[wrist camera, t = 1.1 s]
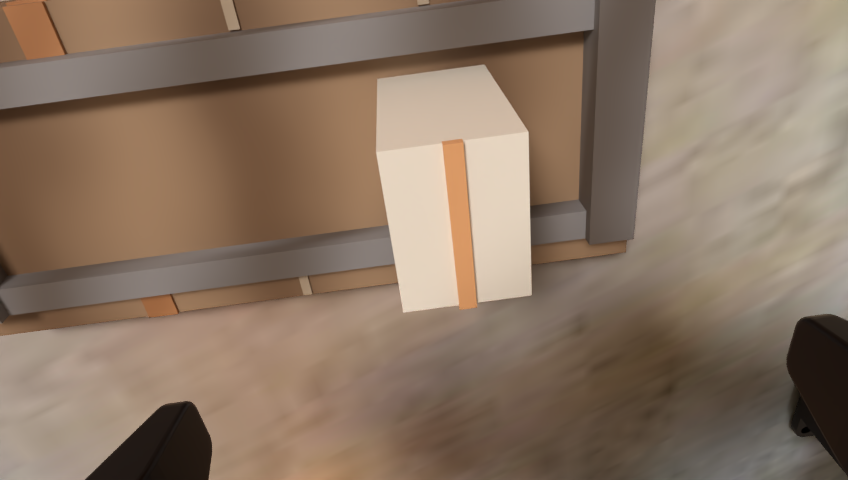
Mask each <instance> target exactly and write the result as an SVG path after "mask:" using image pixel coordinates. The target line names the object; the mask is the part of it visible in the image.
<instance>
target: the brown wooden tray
mask: <svg viewBox="0 0 848 480" xmlns="http://www.w3.org/2000/svg"><path fill="white" fill-rule="evenodd" d="M655 3H656V0H10V1H2V2H0V336H3V335H10V334H18V333H25V332H33V331H40V330H48V329H55V328H63V327H70V326H78V325H85V324H93V323H100V322H108V321H115V320H122V319H130V318H137V317H145V316H149V318H150V317H158V316H165V315H173V314H178V313H179V312H182V311H190V310H197V309H205V308H212V307H220V306H227V305H235V304H242V303H249V302H257V301H264V300H272V299H279V298H287V297H294V296H302V295H310V294H317V293H324V292H332V291H339V290H347V289H354V288H362V287H369V286H377V285H384V284H391V283H398V278H397V272H396V266H395V260H394V254H393V249H392V243H391V237H390V231H389V225H388V219H387V213H386V208H385V202H384V196H383V190H382V184H381V178H380V173H379V167H378V161H377V155H376V124H377V79H380V78H387V77H395V76H402V75H410V74H417V73H424V72H432V71H439V70H447V69H454V68H462V67H469V66H476V65H485V66H486V68H487V69H488V71H489V72H490V74H491V75H492V77H493V78H494V80H495V81H496V83H497V84H498V86H499V87H500V89H501V91H502V92H503V94H504V95H505V97H506V98H507V100H508V101H509V103H510V104H511V106H512V107H513V109H514V110H515V112H516V113H517V115H518V116H519V118H520V119H521V121H522V122H523V124H524V126H525V127H526V129H527V130H528V132H529V182H530V234H531V265H533V264H541V263H548V262H556V261H563V260H571V259H578V258H586V257H593V256H601V255H608V254H616V253H623V252H626V243H627V240H630V239H634V229H635V218H636V208H637V197H638V186H639V175H640V164H641V154H642V143H643V132H644V121H645V111H646V100H647V89H648V78H649V67H650V57H651V46H652V35H653V24H654V14H655Z"/></svg>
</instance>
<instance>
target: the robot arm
mask: <svg viewBox="0 0 848 480" xmlns="http://www.w3.org/2000/svg"><path fill="white" fill-rule="evenodd" d="M787 369H788V372H789V374H790V377H791V378H792V380H793V382H794V384H795V386H796V387H797V389H798V391H799V393H800V394H801V396H800V399H799V402H798V405H797V408H796V411H795V414H794V417H793V420H792V423H791V428H792V429H793V431H794V432H795V433H796V434H797V436H800V437H806V436H813V435H815V437H816V438H817V439H818V440H819V442H820V443H821V444H822V445H823V446H824V448H825V449H826V450H827V451H828V453H829V454H830V455H831V456H832V457H833V459H834V460H835V461H836V462H837V464H838V465H839V466H840V467H841V468H842V470H843V471H844V472H845V473H846V475H847V476H848V321H847V320H845V319H843V318H840V317H838V316H835V315H831V314H823V315H815V316H808V317H803V318H801V319H800V320H799V321H798V322H797V324H796V327H795V330H794V333H793V337H792V340H791V344H790V347H789V351H788V354H787ZM211 457H212V442H211V438H210V435H209V433H208V431H207V429H206V427H205V424H204V422H203V420H202V418H201V416H200V414H199V412H198V410H197V408H196V406H195V405H194V404H193V403H192V402H189V401H184V402H177V403H170V404H165V405H163V406H161V407H160V408H159V409H157V410H156V411H155V412H154V413H153V414H152V415H151V416H150V417H149V418H148V419H147V420H146V421H145V422H144V423H143V424H142V425H141V426H140V427H139V428H138V429H137V430H136V431H135V432H134V433H133V434H132V435H131V436H130V437H129V438H127V439H126V440H125V441H124V442H123V443H122V444H121V445H120V446H119V447H118V448H117V449H116V450H115V451H114V452H113V453H112V454H111V455H110V456H109V457H108V458H107V459H106V460H105V461H104V462H103V463H102V464H101V465H100V466H99V467H98V468H97V469H95V470H94V471H93V472H92V473H91V474H90V475H89V476H88V477H87V478H86V479H85V480H208V479H209V471H210V464H211Z"/></svg>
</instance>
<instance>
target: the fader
mask: <svg viewBox="0 0 848 480" xmlns="http://www.w3.org/2000/svg"><path fill="white" fill-rule="evenodd" d="M376 155H377V161H378V167H379V173H380V178H381V184H382V190H383V196H384V202H385V208H386V213H387V219H388V225H389V231H390V237H391V243H392V249H393V254H394V260H395V266H396V272H397V278H398V284H399V289H400V295H401V301H402V307H403V313H404V312H411V311H419V310H426V309H434V308H441V307H448V306H456V305H459V308H460V310H462V309H469V308H477V303H478V302H486V301H493V300H501V299H508V298H516V297H523V296H531V295H532V286H531V234H530V182H529V132H528V130H527V129H526V127H525V126H524V124H523V122H522V121H521V119H520V118H519V116H518V115H517V113H516V112H515V110H514V109H513V107H512V106H511V104H510V103H509V101H508V100H507V98H506V97H505V95H504V94H503V92H502V91H501V89H500V87H499V86H498V84H497V83H496V81H495V80H494V78H493V77H492V75H491V74H490V72H489V71H488V69H487V68H486V66H485V65H476V66H469V67H462V68H454V69H447V70H439V71H432V72H424V73H417V74H410V75H402V76H395V77H387V78H380V79H377V124H376Z"/></svg>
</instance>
